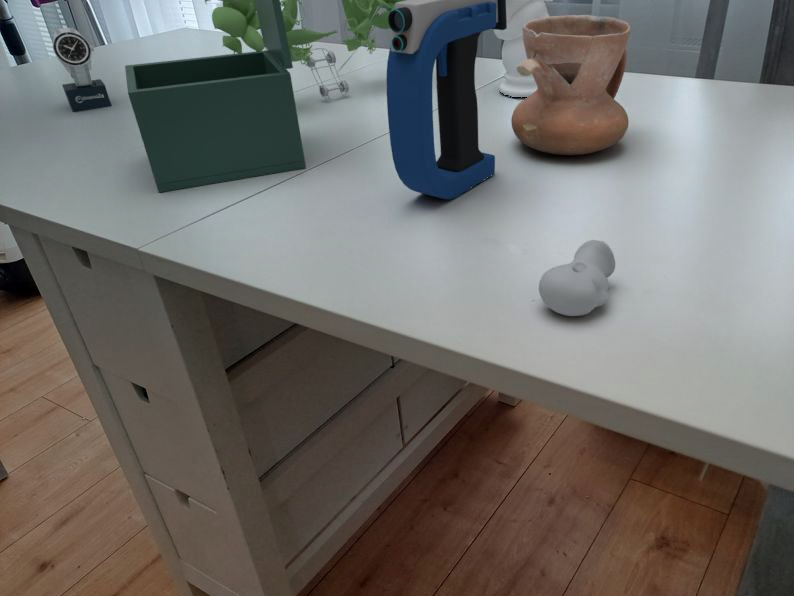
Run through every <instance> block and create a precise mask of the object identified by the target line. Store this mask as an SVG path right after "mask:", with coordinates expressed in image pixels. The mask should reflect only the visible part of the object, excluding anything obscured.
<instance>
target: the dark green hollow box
mask: <svg viewBox="0 0 794 596" xmlns="http://www.w3.org/2000/svg"><path fill="white" fill-rule="evenodd" d="M124 70H125V77H126V87H127V88H126V89H127V95H128V98H129V101H130V104H131V107H132V111H133V114H134V118H135V120H136V124H137V128H138V130H139V132H140V137H141V140H142V143H143V146H144V150H145V153H146V156H147V159H148V162H149V166H150V169H151V172H152V176H153V178H154V182H155V186H156V188H157V192H158V193H164V192H171V191H176V190H182V189H183V190H184V189H188V188H194V187H200V186H201V187H202V186H207V185H211V184H219V183H225V182H230V181H237V180H242V179H243V180H244V179H249V178H255V177H260V176H261V177H262V176H266V175H272V174H279V173H284V172H290V171H295V170H303V169H306V168H307V166H306V161H305V153H304V147H303V143H302V142H303V141H302V135H301V129H300V123H299V118H298V112H297V106H296V101H295V94H294V86H293V81H292V76H291V72H290V71H289V70H288V69H286V68H285V67H284V66H283V65H282V64H281V63H280V62H279V61H278V60H277V59H276V58H275V57H274V56H273V55H272V54H271V53H270V52H269V51H268V50H267V49H265V50H262V51H256V50H255V51H248V52H242V53H235V54H234V53H229V54H221V55H211V56H210V55H209V56H202V57H193V58H192V57H191V58H181V59H173V60H165V61H164V60H163V61H154V62H146V63H137V64H126V65H124Z"/></svg>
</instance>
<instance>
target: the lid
mask: <svg viewBox="0 0 794 596" xmlns="http://www.w3.org/2000/svg"><path fill="white" fill-rule="evenodd" d="M254 1H255V5H256V10H257V15H258V19H259V24H260V28H261V29H260V34H261V36H262V38H263V42H264V46H265V47H264V49H265V48H266V49H265V50H268V51H269V52H270V53H271V54H272V55H273V56H274V57H275V58H276V59H277V60H278V61H279V62H280V63H281V64H282V65H283V66H284V67H285V69H286V70H290V69H294V64H293V62H292V60H291V55H290V50H289V45H288V40H287V35H286V30H285V24H284V19H283V14H282V10H283V8H282V6H281V4H282V3H281V4H280V2H281V0H254Z"/></svg>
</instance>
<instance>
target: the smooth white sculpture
mask: <svg viewBox="0 0 794 596" xmlns="http://www.w3.org/2000/svg"><path fill="white" fill-rule="evenodd" d="M615 269H616V259H615V256H614V252H613V250H612V249H611V247H610V245H609V244H607V243H606V242H605V241H603V240H598V239H590V240H587V241H586V242H584V243H583V244H582V245H580V246H579V247H578V249H577V250H576V251H575V253H574V257H573V260H572V261H570V262H569V263H564V264H560V265H556V266H554V267H552V268H550V269H548V270H546V271H545V272H544V273H543V275H541V278H540V280H539V283H538V292H539V296H540V298H541V300H542V301H543V303H544V304H545V306H546V307H548V308H549V309H550V310H552V312H555V313H557V314H559V315H563V316H568V317H580V316H581V317H582V316H585V315H588V314H590V313H591V312H592V311H593V310H594V309H595V308H598V307H600V306H605V305H606V304H607V303H608V300H609V296H608V290H609V289H610V281H609V279H608V278H609V277H610V276H612V275H613V273H614V272H615Z"/></svg>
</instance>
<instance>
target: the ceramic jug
mask: <svg viewBox="0 0 794 596" xmlns="http://www.w3.org/2000/svg"><path fill="white" fill-rule="evenodd" d="M549 16H550V17H546V18H545V17H544V18H538V19H534V20H531V21H529V22H526V23H525V24H524V25H523V41H524V47H525V51H526V56H527V60H525V61H523V62H522V63H521V64H519V65H518V67H517V71H518V73H519V74H520V75H521V76H529V75H531V74H532V75H533V77H534V80H535V82H536V84H537V90H536V91H535V92H534V93H533V94H531V95H530V96H529V97H527V98H523V99H522V101H520V102H519V103H518V104H517V106H515V108H514V110H513V112H512V115H511V119H510V120H511V123H510V124H511V128H512V132H513V133H514V135H515V136H516V139H518V141H520V142H521V143H522V144H524V145H526V146H527V147H529V148H531V149H534V150H536V151H539V152H542V153H546V154H551V155H559V156H579V155H587V154H592V153H597V152H600V151H603V150H606V149H607V148H608V149H609V148H610V147H612V146H613V145H615V144H617V143H618V142H619V141H621V140H622V138H623V137H624V136H625V134H626V133H627V130H628V128H629V117H628V114H627V111H626V109H625V108H624V107H623V105H621V104H620V103H619V102H618V101H617V100H616V99H615V98H616V96H617V94H618V92H619V89H620V87H621V83H622V81H623V77H624V74H625V71H626V67H627V66H626V65H627V60H628V59H627V55H628V54H627V49H626V47H627V45H628V44H627V43H628V40H629V37H630V33H631V26H630V24H629V23H628V22H627V21H626V20H625V21H624V20H623V19H618V18H617V17H612V16H606V15H601V16H600V15H599V16H597V15H596V16H595V15H591V14H579V15H575V14H569V15H568V14H567V15H549Z"/></svg>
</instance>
